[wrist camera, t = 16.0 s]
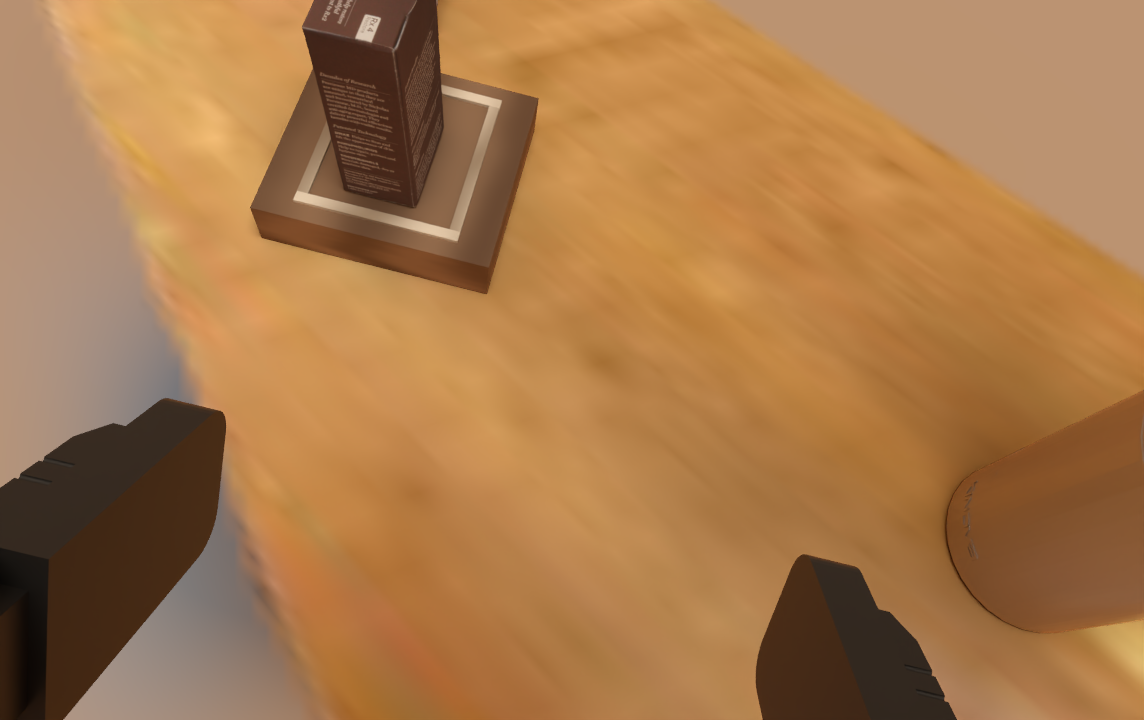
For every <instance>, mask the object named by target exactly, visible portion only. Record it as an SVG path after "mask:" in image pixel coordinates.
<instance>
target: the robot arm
mask: <svg viewBox="0 0 1144 720" xmlns="http://www.w3.org/2000/svg"><path fill="white" fill-rule="evenodd" d="M225 434H226V420H225V416H224V414H223V412H221V411H218V410H214V409H210V408H206V407H202V406H197V405H193V404H189V403H185V402H181V401H177V400H173V399H169V398H165V399H162V400H160V401H158V402H157V403H156V404H154V405H153V406H152V407H151V408H149V409H148V410H146V411H145V412H144V413H143V414H141V415H140V416H139V417H137V418H136V419H135V420H133V421H132V422H131V423H129V424H128V425H127V426H122V425H118V424H114V423H113V424H109V425H107V426H104V427H101V428H98V429H95V430H91V431H89V432H85V433H83V434H79V435H77V436H74V437H72V438H70V439H69V440H68V441H66V442H65V443H63V444H62V445H60V446H59V447H58V448H57V449H55V450H53V451H52V452H50V453H49V454H48V455H46V456H45V457H44V460H43V462H42V461H38V462H36V463H35V464H33V465H32V466H31V467H29V468H28V469H26V470H25V471H24V472H22V473H21V474H20V477H19V479H16V478H14V479H12V480H11V481H9V482H8V483H7V484H5V485H4V486H2V487H1V488H0V720H63V719H64V718H65V717H66V716H67V714H68V713H69V712H70V711H71V710H72V708H73V707H74V706H75V705H76V703H78V701H79V700H80V699H81V698H82V696H83V695H84V694H85V693H86V691H88V689H89V688H90V687H91V686H92V684H93V683H94V682H95V681H96V680H97V679H98V677H99V676H100V675H101V674H102V672H103V671H104V670H105V669H106V668H107V666H108V665H109V664H110V663H111V662H112V660H113V659H114V658H115V657H116V656H117V654H118V653H119V652H120V651H121V650H122V648H123V647H124V646H125V645H126V643H127V642H128V641H129V640H130V639H131V638H132V636H133V635H134V634H135V633H136V632H137V630H138V629H139V628H140V627H141V626H142V624H143V623H144V622H145V621H146V620H147V618H148V617H149V616H150V615H151V614H152V612H153V611H154V610H155V609H156V608H157V606H158V605H159V604H160V603H161V602H162V600H163V599H164V598H165V597H166V596H167V594H168V593H169V592H170V591H171V590H172V588H173V587H174V586H175V585H176V583H177V582H178V581H179V580H180V579H181V578H182V576H183V575H184V574H185V573H186V572H187V570H188V569H189V568H190V567H191V565H192V564H193V563H194V562H195V561H196V559H197V558H198V557H199V556H200V554H201V553H202V551H203V550H204V548H205V546H206V544H207V542H208V540H209V538H210V535H211V532H212V530H213V527H214V523H215V520H216V515H217V509H218V500H219V490H220V481H221V471H222V462H223V453H224V443H225ZM946 527H947V539H948V545H949V549H950V552H951V556H952V560H953V562H954V564H955V566H956V569H957V571H958V573H959V575H960V577H961V579H962V580H963V582H964V583H965V584H966V586H967V587H968V589H969V590H970V592H971V593H972V594H973V596H974V597H975V598H976V599H977V600H978V601H979V602H980V603H981V604H982V605H983V606H984V607H985V608H986V609H987V610H989V611H990V612H992V613H993V614H994V615H996V616H997V617H999V618H1000V619H1002V620H1003V621H1005V622H1007V623H1009V624H1011V625H1014V626H1016V627H1018V628H1020V629H1024V630H1028V631H1032V632H1037V633H1058V632H1065V631H1072V630H1078V629H1085V628H1092V627H1098V626H1105V625H1113V624H1120V623H1127V622H1133V621H1140V620H1144V390H1143V391H1141V392H1139V393H1137V394H1135V395H1133V396H1130V397H1128V398H1126V399H1124V400H1122V401H1120V402H1118V403H1116V404H1114V405H1112V406H1110V407H1108V408H1106V409H1103V410H1101V411H1099V412H1097V413H1095V414H1093V415H1091V416H1089V417H1087V418H1085V419H1083V420H1081V421H1079V422H1076V423H1074V424H1072V425H1070V426H1068V427H1066V428H1064V429H1062V430H1060V431H1058V432H1056V433H1054V434H1052V435H1050V436H1047V437H1045V438H1043V439H1041V440H1039V441H1037V442H1035V443H1033V444H1031V445H1029V446H1027V447H1024V448H1022V449H1020V450H1018V451H1016V452H1014V453H1012V454H1010V455H1008V456H1006V457H1004V458H1002V459H1000V460H998V461H996V462H994V463H992V464H990V465H988V466H986V467H984V468H981V469H979V470H977V471H975V472H973V473H972V474H971V475H970V476H969V477H967V478H966V479H965V480H964V481H963V482H962V483H961V484H960V486H959V487H958V489H957V490H956V492H955V493H954V495H953V498H952V500H951V503H950V506H949V508H948V516H947V524H946ZM756 689H757V694H758V699H759V704H760V708H761V713H762V717H763V720H957V719H956V717H955V715H954V713H953V711H952V709H951V707H950V705H949V703H948V702H945V701H944V697H945V695H944V693H943V691H942V689H941V687H940V685H939V683H938V681H937V679H936V677H934V676H932V669H931V667H930V665H929V664H928V662H927V660H926V658H925V656H924V654H923V652H922V650H921V648H920V646H919V644H918V642H917V640H916V639H915V638H914V637H913V636H912V635H911V634H910V633H909V632H908V631H907V630H906V629H905V628H904V627H903V626H902V625H901V624H900V623H899V622H898V620H897V619H896V618H895V617H894V616H893V615H892V614H891V613H890V612H887V611H883V610H879V609H878V608H877V606H876V603H875V601H874V599H873V597H872V595H871V593H870V590H869V588H868V586H867V584H866V582H865V580H864V578H863V575H862V573H861V572H860V570H859V569H858V568H857V567H855V566H851V565H847V564H842V563H838V562H834V561H830V560H826V559H822V558H818V557H814V556H809V555H805V554H804V555H801V556H799V557H798V558H797V560H796V561H795V563H794V564H793V566H792V568H791V571H790V573H789V576H788V578H787V581H786V583H785V586H784V588H783V591H782V593H781V596H780V598H779V601H778V603H777V605H776V608H775V610H774V613H773V615H772V618H771V620H770V623H769V625H768V628H767V630H766V633H765V635H764V638H763V640H762V643H761V646H760V650H759V654H758V659H757V666H756Z"/></svg>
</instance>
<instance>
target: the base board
mask: <svg viewBox="0 0 1144 720" xmlns="http://www.w3.org/2000/svg"><path fill="white" fill-rule="evenodd" d="M441 88H442V103H443V120H444V129H443V132H442V135H441V138H440V141H439V144H438V147H437V150H436V153H435V156H434V159H433V161H432V164H431V167H430V170H429V173H428V176H427V178H426V181H425V184H424V187H423V190H422V193H421V195H420V198H419V201H418V203H417V206H416V207H411V206H407V205H401V204H398V203H392V202H389V201H385V200H380V199H377V198H373V197H369V196H365V195H361V194H358V193H354V192H351V191H347V190H344V188H343V183H342V179H341V176H340V172H339V168H338V164H337V160H336V156H335V152H334V148H333V144H332V141H331V136H330V132H329V127H328V124H327V119H326V116H325V112H324V107H323V104H322V100H321V96H320V93H319V89H318V85H317V81H316V76H315V73H314V69H313V70H312V72H311V74H310V76H309V79H308V81H307V83H306V85H305V87H304V90H303V92H302V94H301V96H300V99H299V101H298V103H297V105H296V107H295V110H294V112H293V114H292V116H291V118H290V121H289V123H288V125H287V127H286V130H285V132H284V134H283V136H282V138H281V141H280V143H279V145H278V147H277V149H276V152H275V154H274V156H273V158H272V161H271V163H270V165H269V167H268V169H267V172H266V174H265V176H264V178H263V180H262V183H261V185H260V187H259V189H258V192H257V194H256V196H255V198H254V200H253V203H252V205H251V207H250V208H251V211H252V214H253V216H254V219H255V221H256V224H257V226H258V229H259V231H260V234H261V237H262V238H265V239H269V240H273V241H277V242H281V243H285V244H289V245H293V246H297V247H301V248H305V249H309V250H313V251H317V252H321V253H325V254H329V255H333V256H337V257H341V258H345V259H349V260H353V261H357V262H361V263H365V264H369V265H373V266H377V267H381V268H385V269H389V270H393V271H397V272H401V273H405V274H409V275H413V276H417V277H421V278H425V279H429V280H433V281H437V282H441V283H445V284H449V285H453V286H457V287H461V288H465V289H469V290H473V291H477V292H481V293H485V294H487V291H488V288H489V284H490V281H491V277H492V274H493V270H494V267H495V264H496V260H497V257H498V253H499V250H500V246H501V243H502V239H503V236H504V233H505V229H506V226H507V222H508V219H509V215H510V212H511V208H512V205H513V202H514V198H515V195H516V191H517V188H518V184H519V181H520V178H521V174H522V171H523V167H524V164H525V160H526V157H527V153H528V150H529V147H530V143H531V140H532V136H533V133H534V127H535V120H536V113H537V106H538V99H539V98H535V97H531V96H527V95H523V94H519V93H515V92H512V91H508V90H504V89H500V88H496V87H492V86H488V85H484V84H481V83H477V82H473V81H469V80H465V79H461V78H457V77H454V76H450V75H446V74H442V73H441Z"/></svg>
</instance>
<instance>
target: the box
mask: <svg viewBox="0 0 1144 720" xmlns="http://www.w3.org/2000/svg"><path fill="white" fill-rule="evenodd" d="M302 29H303V32H304V35H305V38H306V42H307V46H308V49H309V53H310V57H311V61H312V65H313V69H314V73H315V76H316V81H317V85H318V89H319V93H320V96H321V100H322V104H323V107H324V112H325V116H326V119H327V124H328V127H329V132H330V136H331V141H332V144H333V148H334V152H335V156H336V160H337V164H338V168H339V172H340V176H341V179H342V183H343V188H344V190H347V191H351V192H354V193H358V194H361V195H365V196H369V197H373V198H377V199H380V200H385V201H389V202H392V203H398V204H401V205H407V206H411V207H416V206H417V203H418V201H419V198H420V195H421V193H422V190H423V187H424V184H425V181H426V178H427V176H428V173H429V170H430V167H431V164H432V161H433V159H434V156H435V153H436V150H437V147H438V144H439V141H440V138H441V135H442V132H443V129H444V120H443V103H442V88H441V73H440V54H439V39H438V23H437V1H436V0H314V2H313V4H312V6H311V8H310V11H309V13H308V15H307V17H306V19H305V22H304V23H303V26H302Z"/></svg>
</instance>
